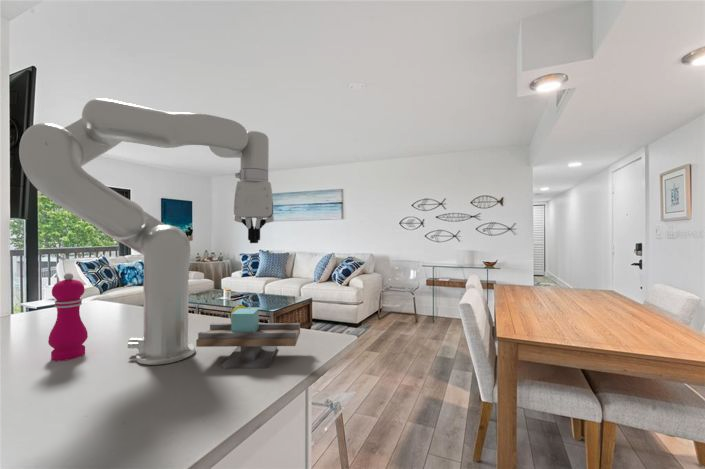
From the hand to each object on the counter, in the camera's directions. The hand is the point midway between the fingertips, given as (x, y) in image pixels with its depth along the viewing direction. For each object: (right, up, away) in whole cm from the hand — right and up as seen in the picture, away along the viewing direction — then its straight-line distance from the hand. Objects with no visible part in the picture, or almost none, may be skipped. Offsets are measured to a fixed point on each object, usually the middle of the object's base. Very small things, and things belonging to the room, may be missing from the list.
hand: (254, 242), depth 94 cm
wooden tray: (+3, -27, -14) cm, 31 cm away
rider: (+2, -21, -14) cm, 25 cm away
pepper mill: (-41, -27, -13) cm, 51 cm away
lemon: (-7, -27, +8) cm, 29 cm away
